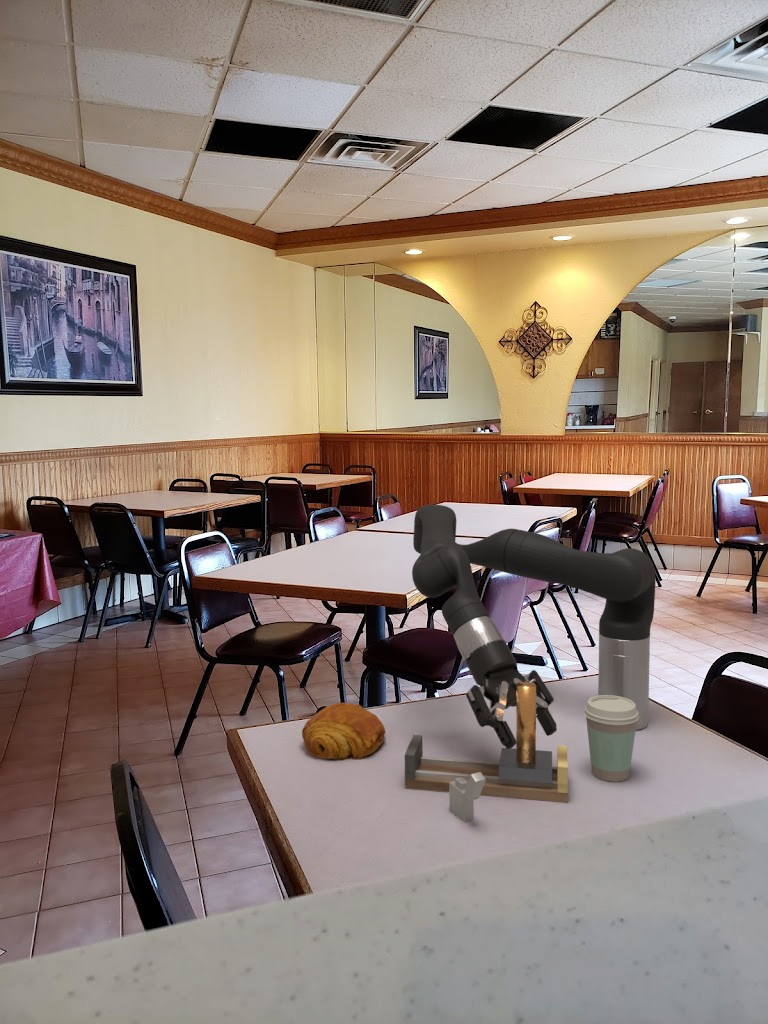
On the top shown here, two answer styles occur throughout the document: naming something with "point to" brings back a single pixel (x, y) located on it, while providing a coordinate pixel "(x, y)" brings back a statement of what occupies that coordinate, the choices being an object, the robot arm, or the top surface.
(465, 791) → the lighter
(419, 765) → the rail track
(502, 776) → the carriage
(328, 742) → the croissant
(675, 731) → the top surface
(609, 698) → the coffee cup
